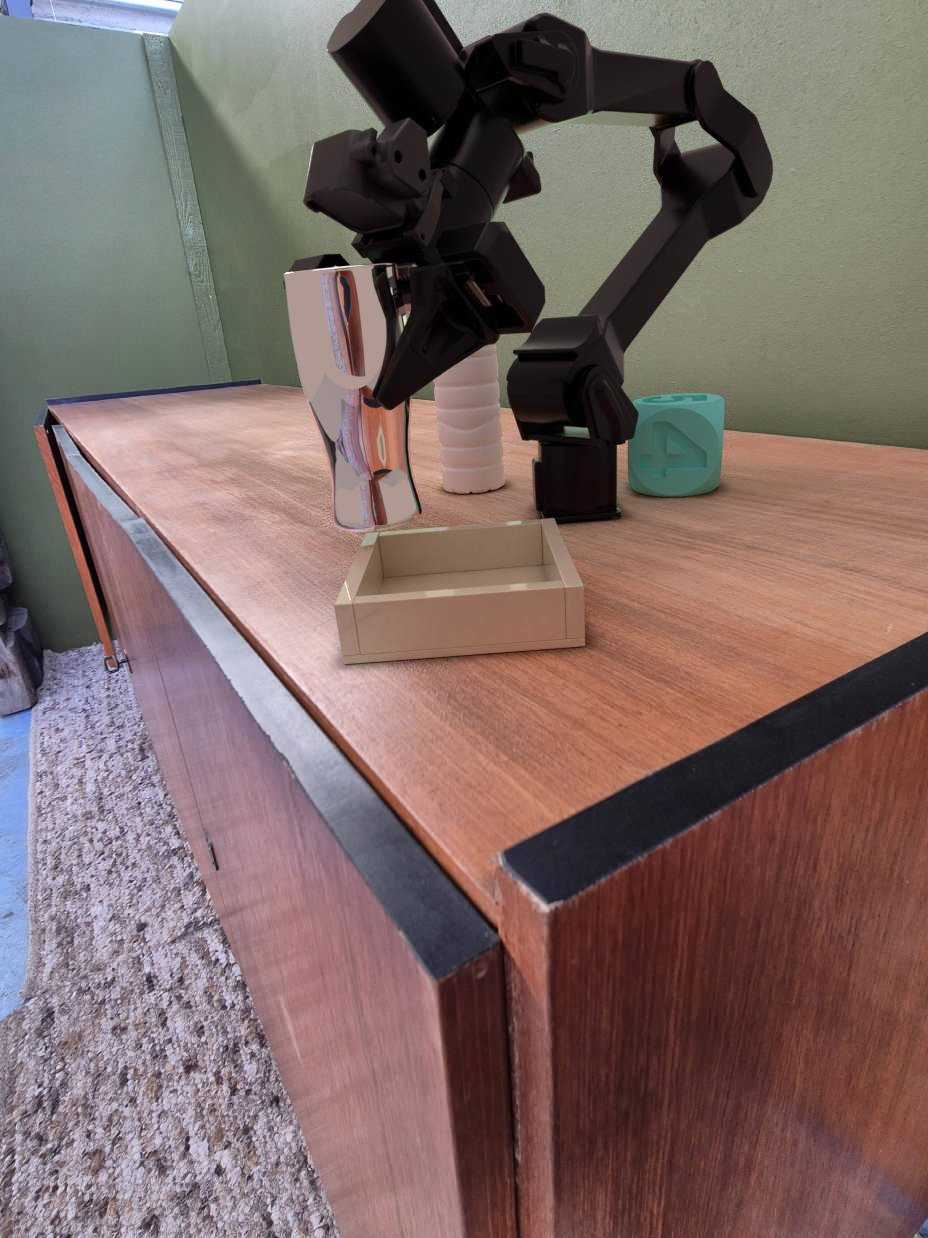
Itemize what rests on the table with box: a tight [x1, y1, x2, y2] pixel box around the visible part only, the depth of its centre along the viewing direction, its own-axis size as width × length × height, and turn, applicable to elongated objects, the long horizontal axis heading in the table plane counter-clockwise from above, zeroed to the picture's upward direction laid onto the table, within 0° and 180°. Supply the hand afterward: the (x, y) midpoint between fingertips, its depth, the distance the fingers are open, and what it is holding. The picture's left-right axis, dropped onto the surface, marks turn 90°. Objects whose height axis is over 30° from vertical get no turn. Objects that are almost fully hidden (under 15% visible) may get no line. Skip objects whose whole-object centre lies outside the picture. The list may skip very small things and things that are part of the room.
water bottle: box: [432, 343, 506, 494], centre depth 69 cm, size 9×6×25 cm
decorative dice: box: [627, 392, 725, 498], centre depth 66 cm, size 8×8×8 cm
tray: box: [333, 518, 586, 665], centre depth 43 cm, size 13×13×4 cm
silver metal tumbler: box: [282, 262, 425, 533], centre depth 44 cm, size 7×7×15 cm
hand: (345, 404), depth 43 cm, fingers closed on silver metal tumbler, 7 cm apart
